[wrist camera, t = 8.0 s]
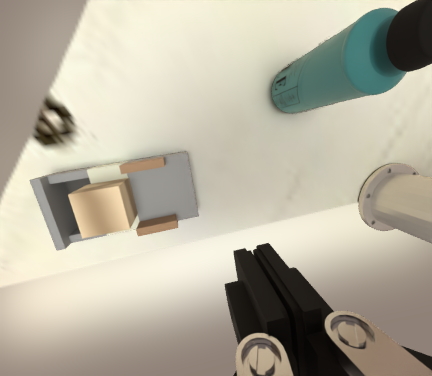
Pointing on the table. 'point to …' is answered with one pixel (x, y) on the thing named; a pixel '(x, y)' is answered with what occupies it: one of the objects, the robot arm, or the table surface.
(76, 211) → the maple block
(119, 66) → the table surface
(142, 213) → the grey open boxy piece
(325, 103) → the beverage bottle
